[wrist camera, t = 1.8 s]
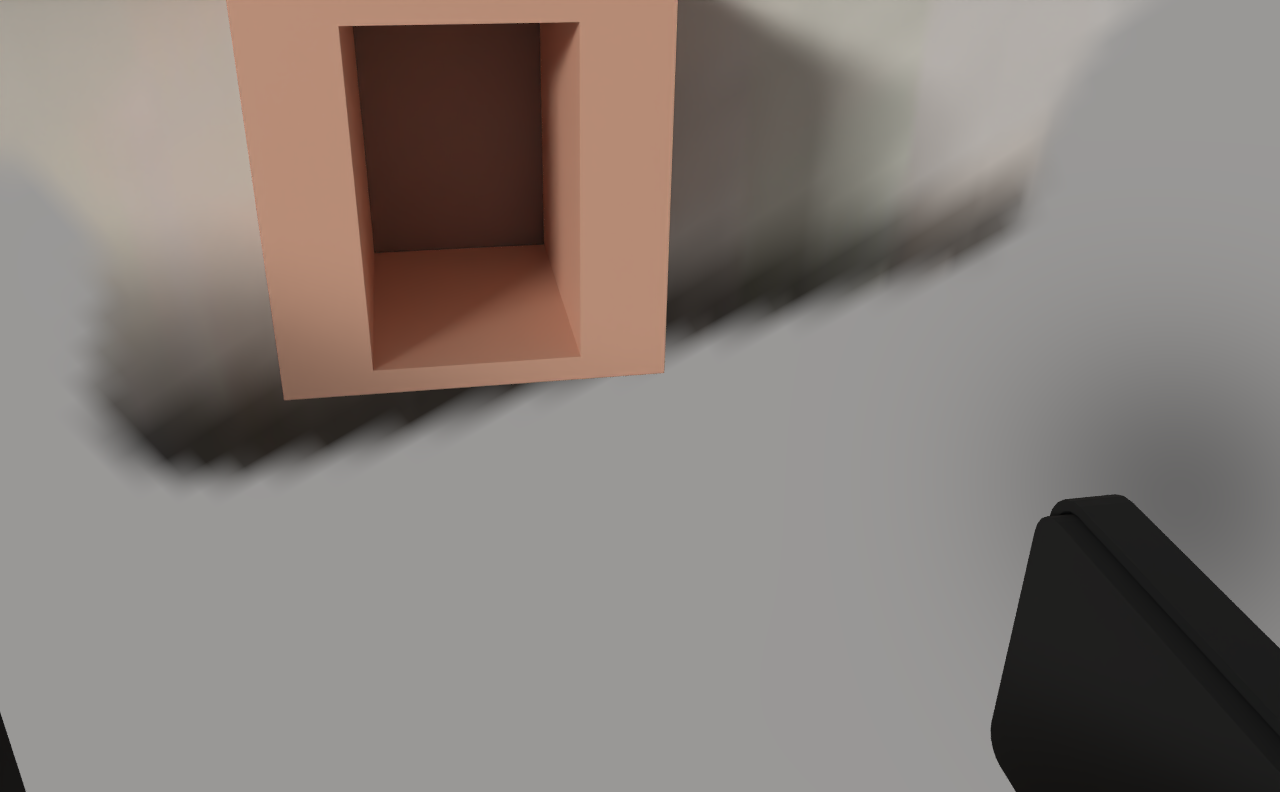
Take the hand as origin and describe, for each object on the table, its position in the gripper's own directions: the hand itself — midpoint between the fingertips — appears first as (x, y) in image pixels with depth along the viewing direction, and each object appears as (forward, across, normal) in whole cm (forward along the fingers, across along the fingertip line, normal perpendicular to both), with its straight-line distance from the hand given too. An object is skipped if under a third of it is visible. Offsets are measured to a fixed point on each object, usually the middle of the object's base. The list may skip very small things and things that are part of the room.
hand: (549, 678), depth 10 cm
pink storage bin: (+18, 0, 0) cm, 18 cm away
